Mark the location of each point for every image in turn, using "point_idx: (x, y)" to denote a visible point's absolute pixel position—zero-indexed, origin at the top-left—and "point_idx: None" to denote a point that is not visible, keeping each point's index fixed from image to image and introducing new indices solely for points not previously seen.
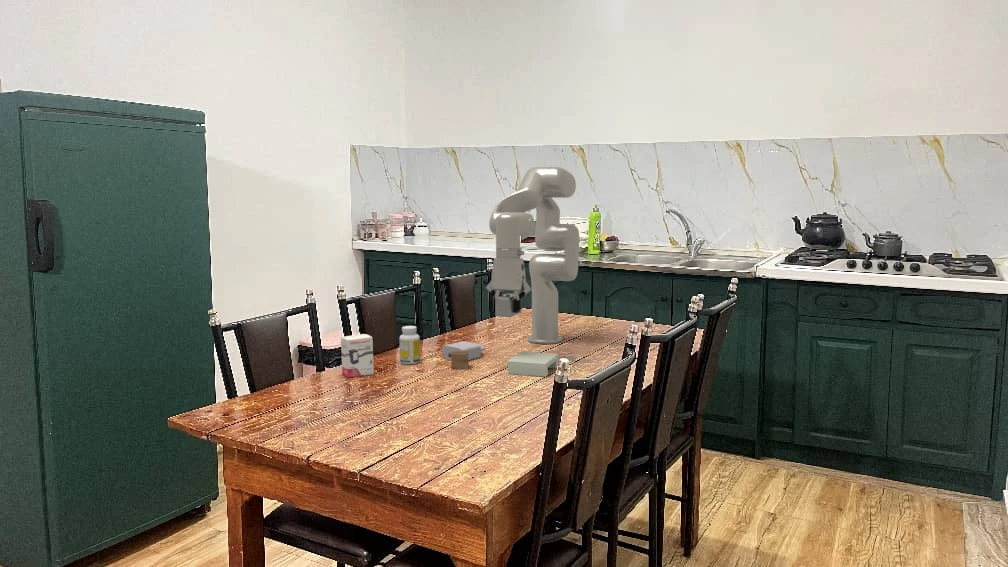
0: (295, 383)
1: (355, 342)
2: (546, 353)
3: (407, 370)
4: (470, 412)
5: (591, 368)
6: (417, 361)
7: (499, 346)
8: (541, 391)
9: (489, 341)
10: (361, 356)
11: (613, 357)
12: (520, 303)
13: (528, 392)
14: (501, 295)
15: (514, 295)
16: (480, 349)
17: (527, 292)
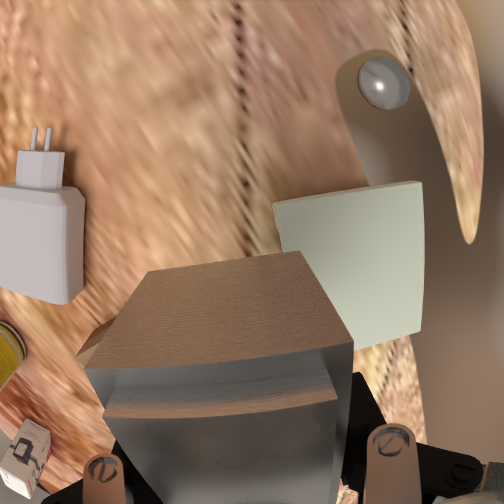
0: (42, 475)
1: (31, 490)
2: (380, 193)
3: (62, 400)
4: (339, 496)
5: (475, 159)
6: (24, 350)
7: (61, 26)
8: (417, 398)
9: (16, 8)
10: (39, 467)
11: (462, 15)
12: (376, 414)
13: (395, 415)
14: (126, 481)
15: (319, 490)
16: (73, 205)
17: (493, 478)
